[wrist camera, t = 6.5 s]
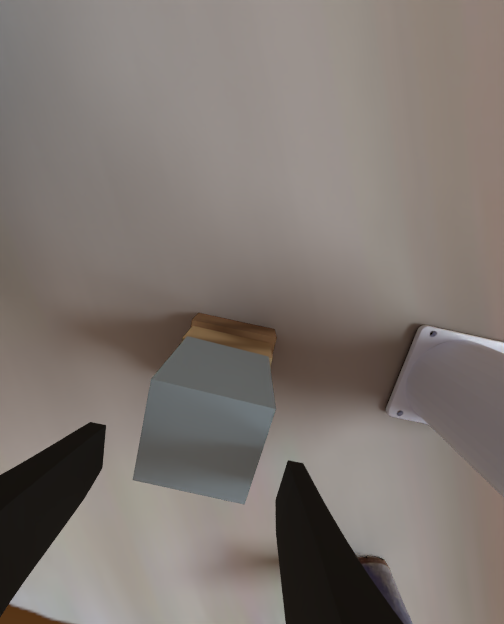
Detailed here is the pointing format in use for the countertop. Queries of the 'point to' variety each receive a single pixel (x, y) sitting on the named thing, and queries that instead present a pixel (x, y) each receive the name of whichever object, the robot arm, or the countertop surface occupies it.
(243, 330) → the walnut slab
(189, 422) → the slate block
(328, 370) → the countertop surface
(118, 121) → the countertop surface
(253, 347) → the oak slab
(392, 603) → the flask
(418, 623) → the countertop surface
